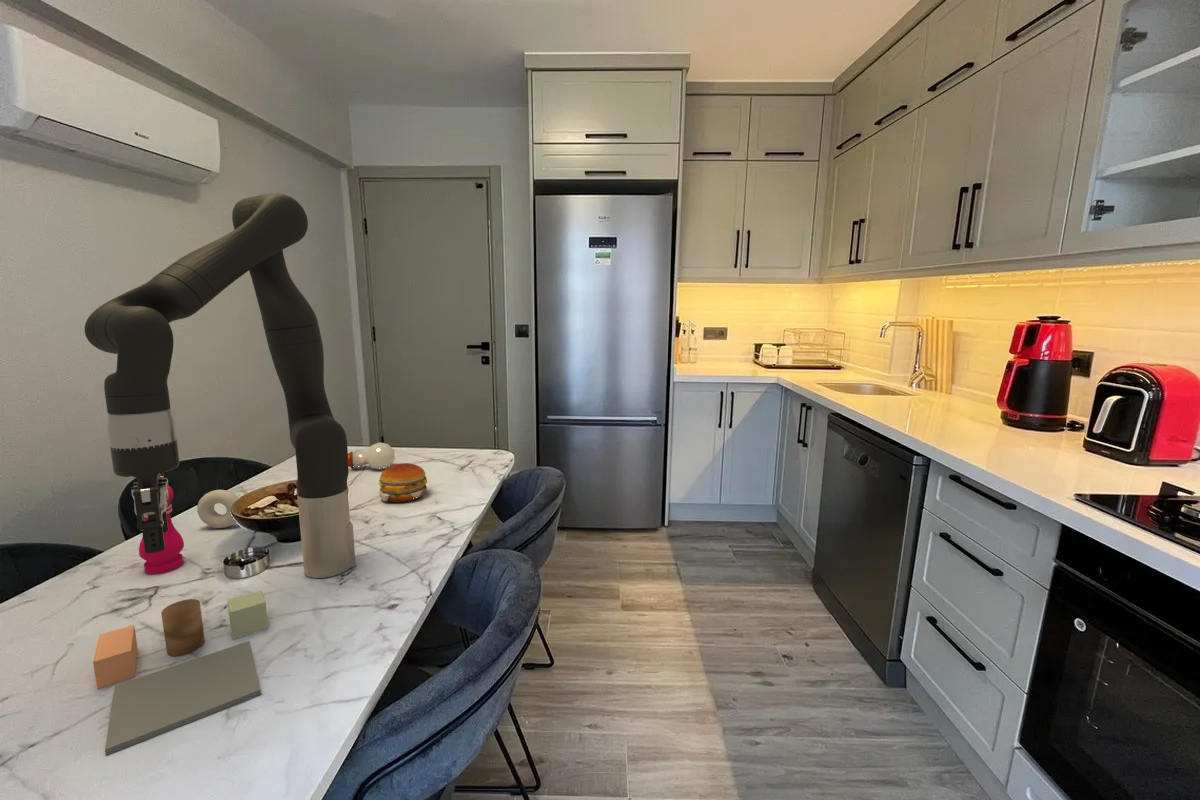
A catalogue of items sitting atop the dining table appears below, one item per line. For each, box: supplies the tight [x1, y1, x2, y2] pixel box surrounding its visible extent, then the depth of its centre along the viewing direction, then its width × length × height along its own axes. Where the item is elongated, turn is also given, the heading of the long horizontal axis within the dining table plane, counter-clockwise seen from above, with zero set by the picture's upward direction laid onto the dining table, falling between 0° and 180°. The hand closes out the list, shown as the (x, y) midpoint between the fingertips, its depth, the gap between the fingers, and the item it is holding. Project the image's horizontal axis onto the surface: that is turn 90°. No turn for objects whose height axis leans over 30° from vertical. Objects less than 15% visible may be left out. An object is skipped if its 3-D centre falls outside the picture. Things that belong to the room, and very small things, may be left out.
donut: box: [197, 489, 240, 529], centre depth 126 cm, size 10×3×10 cm, turn 98°
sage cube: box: [226, 589, 269, 640], centre depth 87 cm, size 5×5×5 cm
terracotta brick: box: [92, 624, 139, 690], centre depth 77 cm, size 8×4×4 cm, turn 40°
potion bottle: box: [348, 441, 396, 471], centre depth 176 cm, size 9×10×15 cm
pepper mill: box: [138, 485, 185, 575], centre depth 106 cm, size 7×7×20 cm
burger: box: [378, 462, 428, 503], centre depth 149 cm, size 13×14×10 cm
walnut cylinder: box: [160, 598, 206, 658], centre depth 81 cm, size 5×5×7 cm
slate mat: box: [104, 640, 262, 756], centre depth 72 cm, size 16×14×1 cm
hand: (157, 541), depth 79 cm, fingers open, 8 cm apart
